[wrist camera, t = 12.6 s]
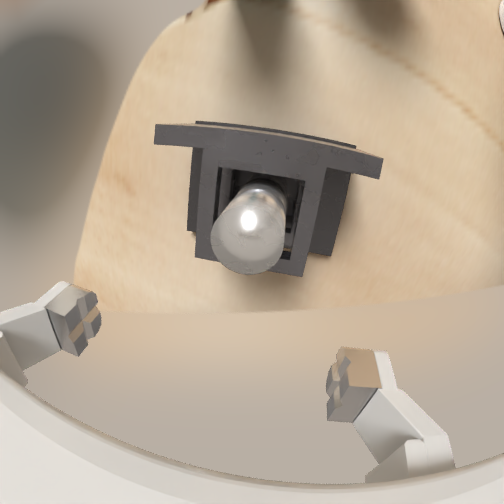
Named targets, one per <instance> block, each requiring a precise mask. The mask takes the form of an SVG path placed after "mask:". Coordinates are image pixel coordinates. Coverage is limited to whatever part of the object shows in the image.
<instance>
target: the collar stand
mask: <svg viewBox="0 0 504 504" xmlns="http://www.w3.org/2000/svg"><path fill="white" fill-rule="evenodd" d="M154 144H157V145H173V146H186V147H193V152H192V163H191V175H190V188H189V203H188V220H187V231H193V232H196V246H195V257H196V258H201V259H207V260H212V261H217V262H220V261H219V260H218V259H217V257H216V256H215V254H214V252H213V249H212V246H211V231H212V227H213V225H214V223H215V221H216V220H217V218H218V217H219V216H220V215H221V213H222V212H223V211H224V210H225V208H226V207H227V206H228V205H229V203H230V202H231V201H232V200H233V199H234V197H235V196H236V195H237V193H238V191H239V190H240V188H241V187H242V186H243V185H244V184H245V183H246V182H247V181H248V180H249V179H250V178H251V177H252V176H253V175H254V174H255V173H256V172H258V173H264V174H270V175H276V176H282V177H283V178H284V179H285V181H286V184H287V203H288V205H287V212H286V221H285V236H284V248H289V249H291V250H290V252H288V251H283V252H282V254H281V257H280V258H279V260H278V261H277V263H276V264H275V265H274V266H273V267H271V268H270V269H268V270H266V271H272V272H277V273H283V274H288V275H294V276H300V277H302V276H303V272H304V268H305V264H306V259H307V255H308V252H311V253H317V254H322V255H328V256H331V254H332V250H333V246H334V243H335V239H336V235H337V231H338V227H339V223H340V219H341V215H342V211H343V206H344V202H345V198H346V193H347V189H348V184H349V180H350V175H351V173H355V174H359V175H363V176H367V177H371V178H375V179H379V177H380V173H381V168H382V163H383V158H380V157H378V156H375V155H372V154H369V153H366V152H364V151H361V150H358V149H356V146H355V145H351V144H347V143H343V142H338V141H334V140H329V139H325V138H320V137H315V136H310V135H305V134H299V133H294V132H288V131H282V130H275V129H269V128H262V127H254V126H246V125H238V124H228V123H218V122H206V121H196V123H195V124H156V125H155V137H154Z"/></svg>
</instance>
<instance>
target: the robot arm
mask: <svg viewBox="0 0 504 504" xmlns="http://www.w3.org/2000/svg"><path fill="white" fill-rule="evenodd" d="M499 16H500V21H501V25H502V29H503V32H504V0H503V1H502V2H501V4H500V7H499ZM97 303H98V300H97V296H96V294H95V293H94V292H92V291H90V290H87V289H84V288H81V287H79V286H76V285H73V284H70V283H67V282H65V281H61V282H59V283H58V284H56V285H55V286H54V287H53V288H51V289H50V290H49V291H48V292H47V293H45V294H44V295H43V296H42V297H41V298H40V299H39V300H37V301H36V302H35V303H32V302H31V303H28V304H25V305H21V306H18V307H15V308H12V309H9V310H6V311H3V312H0V504H504V453H502V454H499V455H497V456H494V457H492V458H488V459H486V460H483V461H480V462H476V463H473V464H470V465H467V466H463V467H460V468H455V463H454V459H453V454H452V450H451V446H450V442H449V439H448V435H447V434H446V433H445V432H444V431H443V430H442V429H441V428H440V427H439V426H438V425H437V424H436V423H435V422H434V421H433V420H432V419H431V418H430V417H429V416H428V415H427V414H426V413H425V412H424V411H423V410H422V409H421V408H420V407H419V406H418V405H417V404H416V403H415V402H414V401H413V400H412V399H411V398H410V397H409V396H408V395H407V394H406V393H405V392H404V391H403V390H402V389H398V387H397V384H396V380H395V376H394V373H393V369H392V366H391V362H390V359H389V356H388V353H387V352H386V351H383V350H369V349H359V348H349V347H341V348H340V349H339V351H338V353H337V356H336V358H337V362H336V363H334V364H333V365H332V366H331V368H330V370H329V373H328V377H327V383H326V392H327V394H328V395H329V396H330V399H329V401H328V403H327V420H328V421H338V422H351V423H353V426H354V427H355V428H356V430H357V432H358V433H359V435H360V436H361V438H362V439H363V441H364V442H365V444H366V445H367V447H368V448H369V450H370V451H371V453H372V454H373V456H374V457H375V459H376V460H377V462H378V463H379V465H378V466H377V467H376V468H374V469H373V470H372V471H370V472H369V473H368V474H367V475H366V476H365V483H355V484H310V483H292V482H282V481H272V480H264V479H256V478H250V477H244V476H238V475H232V474H228V473H223V472H218V471H214V470H209V469H205V468H201V467H197V466H193V465H190V464H186V463H183V462H179V461H176V460H172V459H169V458H166V457H163V456H160V455H157V454H154V453H152V452H149V451H146V450H143V449H140V448H138V447H135V446H133V445H130V444H128V443H126V442H123V441H120V440H118V439H116V438H114V437H111V436H109V435H107V434H105V433H103V432H101V431H99V430H97V429H94V428H92V427H90V426H88V425H86V424H84V423H83V422H81V421H79V420H77V419H75V418H73V417H71V416H70V415H68V414H66V413H64V412H63V411H61V410H59V409H57V408H56V407H54V406H52V405H51V404H49V403H48V402H46V401H44V400H43V399H41V398H40V397H38V396H37V395H35V394H34V393H32V392H31V391H29V390H28V389H26V388H25V386H26V385H27V383H28V379H27V378H26V376H25V375H24V372H23V370H25V369H27V368H29V367H30V366H32V365H34V364H36V363H38V362H40V361H42V360H44V359H46V358H47V357H49V356H51V355H53V354H55V353H57V352H59V351H61V349H62V350H64V351H67V352H69V353H71V354H73V355H75V356H80V354H81V353H82V352H83V350H84V349H85V348H86V347H87V345H88V339H90V338H92V337H95V335H96V334H97V333H98V331H99V329H100V326H101V315H100V311H99V310H98V308H97V307H96V304H97Z"/></svg>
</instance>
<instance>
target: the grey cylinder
mask: <svg viewBox="0 0 504 504" xmlns="http://www.w3.org/2000/svg"><path fill="white" fill-rule="evenodd" d="M287 205H288V203H287V184H286V181H285V179H284V178H283V177H282V176H276V175H270V174H264V173H258V172H256V173H255V174H254V175H253V176H252V177H251V178H250V179H249V180H248V181H247V182H246V183H245V184H244V185H243V186H242V187H241V188H240V190H239V191H238V193H237V195H236V196H235V197H234V199H233V200H232V201H231V202H230V203H229V205H228V206H227V207H226V208H225V210H224V211H223V212H222V213H221V215H220V216H219V217H218V218H217V220H216V221H215V223H214V225H213V227H212V231H211V246H212V249H213V252H214V254H215V256H216V257H217V259H218V260H219V261H220V262H221V263H222V264H223V265H224V266H225V267H227V268H228V269H230V270H232V271H234V272H237V273H240V274H246V275H252V274H259V273H262V272H265V271H266V270H268V269H270V268H271V267H273V266H274V265H275V264H276V263H277V261H278V260H279V258H280V257H281V254H282V252H283V248H284V236H285V221H286V212H287Z"/></svg>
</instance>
